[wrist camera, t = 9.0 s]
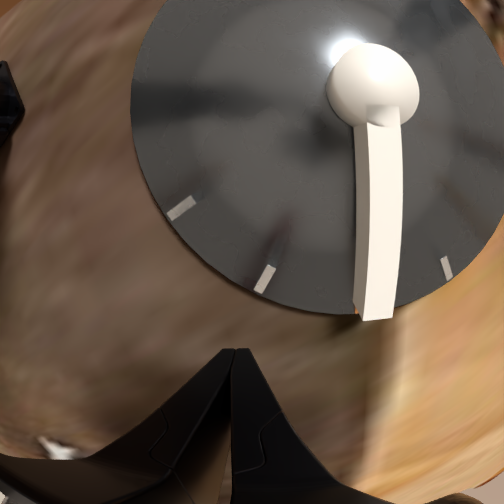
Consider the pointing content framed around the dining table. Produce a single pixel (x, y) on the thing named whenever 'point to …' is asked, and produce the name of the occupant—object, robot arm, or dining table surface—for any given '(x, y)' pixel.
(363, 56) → the dial pointer
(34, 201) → the dining table surface
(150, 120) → the dial face
